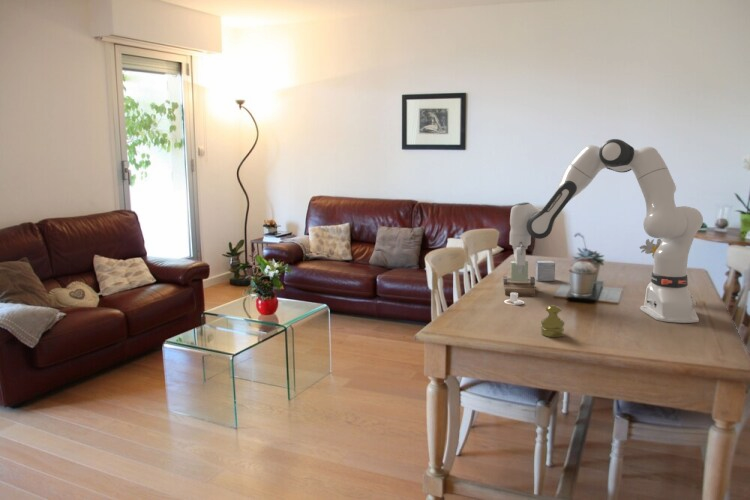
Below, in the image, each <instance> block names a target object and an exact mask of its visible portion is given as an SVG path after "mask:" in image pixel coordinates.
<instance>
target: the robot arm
mask: <svg viewBox="0 0 750 500" xmlns="http://www.w3.org/2000/svg"><path fill="white" fill-rule="evenodd" d="M603 169H607V170H610V171H613V172H617V173H629V172H630V171H632V172H633V174H634V176H635V179H636V180H637V183H638V185H639V187H640V191H641V192H642V195H643V197H644V200H645V207H646V215H645V217H644V219H643V220H644V221H643V229H644V232H645V233H646V234H647V235H648V236H649V237H651V238H654V239H661V241H662V242H661V244H660V246H659V247H658V248H657V250H656V251H655V254H654V258H653V270H652V272H651V275H650V278H651V279H650V283H651V282H652V283H651V285H650V286H649V287H647V286H646V289H645V298H644V305H640V307H639V310H641V311H642V312H644V313H645V314H647V315H648V316H650V317H651V318H653V319H655V320H656V321H660V322H667V323H678V324H679V323H683V324H687V323H688V324H689V323H690V324H692V323H699V320H700V319H699V316H698V314H697V312H696V310H695V308H693V307H696V306H697V301H696V299H692V298H693V294H691V293H690V289H689V288H688V285H689V283H688V281H689V279H688V275H687V271H688V261H689V260H688V258H689V253H690V250H691V246H692V245H693V241H694V239H695V237H696V235H697V233H698V231H699V230H700V229H701V227H702V226H703V223H704V218H703V215H702V213H701V211H700V210H699V209H696V208H695V207H690V206H686V205H685V206H684V205H683V206H676V203H675V193H676V191H677V185H676V183H675V180H674V179H673V177H672V174H671V172H670V170H669V168H668V166H667V164H666V162H665V160H664V159H663V157H662V156H661V154H660V152H659V151H658V150H657V148H655V147H653V146H644V147H642V148H639V149H635V148H634V147H633V146H631V145H630V144H629V143H628V142H626V141H624V140H622V139H618V138H612V139H609V140H607V141H605V142H603V143H602V145H601V146H600V147H599V146H597V145H593V144H589V145H587V146H585V147H584V148H583V149H582V150H581V151H580V152H579V153H578V154H576V155H575V157H574V158H573V159H572V161H571V162H570V163H569V164H568V166H567V167H566V169H565V170H564V172H563V174H562V176H561V178H560V181H559V184H558V186H557V188H556V190H555V192H554V194H553V195H552V196H551V198H550V199H549V200H548V202H547V203H546V204H545V206H543V208H542V209H541V208H538V207H536V206H534V205H533V204H531V203H530V202H519V203H517V204H514V205H513V206H511V209H510V217H509V225H510V231H509V245H510V246H511V248H512V250H513V257H514V261H516V265H517V266H518V274H522V268H523V266H525V263H526V259H527V258H526V255H527V253H526V252H527V251H526V250H527V249H528V247H529V246H530V245H531V243H532V238H534V239H538V240H540V239H541V240H542V239H545V238H546V237H548V236H549V235H550V234H551V232H552V230H553V228H554V226H555V221H556V218H557V217H558V216H559V215H560V213H561V212H562V210H563V209H564V208H565V207H566V205H567V204H568V203H569V202H570V201H571V200H573V198H575V197H576V196H577V195H578V194H580V193H581V192H582V191H584V189H586V188H587V187H588V186H589V185H590V183H591V182H593V180H594V179H595V178H596V176H597V175H598V174H599V173H600V172H601V171H602V170H603Z"/></svg>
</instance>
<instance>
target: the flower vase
mask: <svg viewBox="0 0 750 500" xmlns="http://www.w3.org/2000/svg"><path fill="white" fill-rule="evenodd" d="M654 241H655V238H654V239H651V241H650V239H649V238H646V241H645V244H644V245H643V244H642V245H641V246H639V249H640V250H641V254H642V253H644V252H645V254H646V255H651V254H652V255H651V257H652V258H653V259H654V254H655V251H656V250H657V248H658V247H659V246H660V244H661V242H662V239H659V238H657V240H656V243H654ZM651 283H652V282H651V281H650V282H649V283H648V285H647V286H646V288H647V287H649V286H650V285H651Z"/></svg>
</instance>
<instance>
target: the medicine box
mask: <svg viewBox="0 0 750 500" xmlns="http://www.w3.org/2000/svg"><path fill="white" fill-rule="evenodd" d="M535 264H536V265H535V281H536V282H554V281H555V279H556V278H555V277H556V263H555V262H554V261H553V260H536V263H535Z"/></svg>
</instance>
